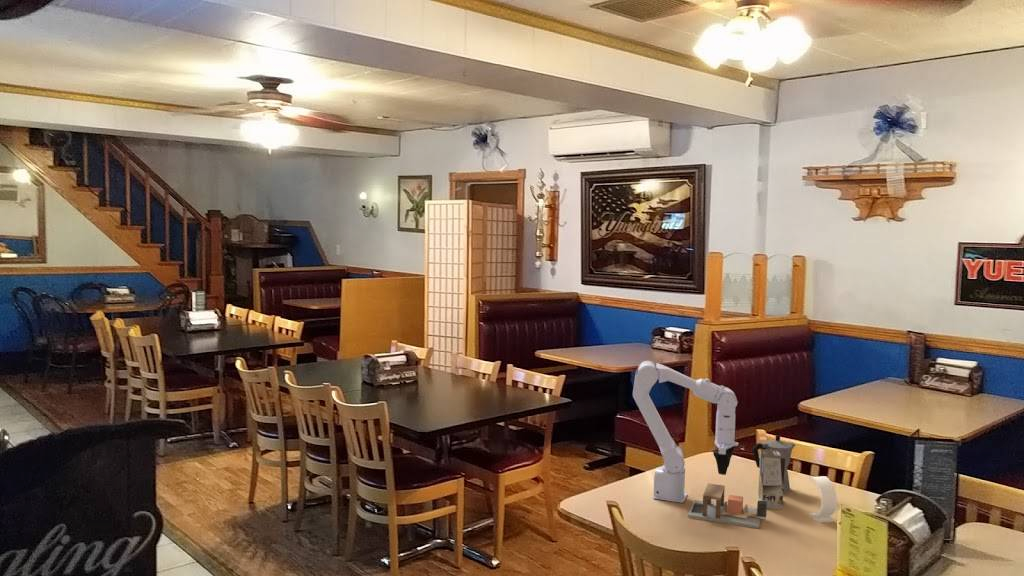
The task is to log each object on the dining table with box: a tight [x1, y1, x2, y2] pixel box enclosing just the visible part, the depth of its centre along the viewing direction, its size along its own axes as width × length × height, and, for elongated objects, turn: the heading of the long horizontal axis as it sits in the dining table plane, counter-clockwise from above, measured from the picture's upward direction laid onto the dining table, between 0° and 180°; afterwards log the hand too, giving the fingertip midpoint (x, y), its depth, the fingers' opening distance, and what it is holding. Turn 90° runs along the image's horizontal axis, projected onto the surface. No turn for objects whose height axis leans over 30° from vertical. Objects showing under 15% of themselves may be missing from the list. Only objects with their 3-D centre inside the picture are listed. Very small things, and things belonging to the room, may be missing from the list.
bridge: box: [702, 483, 726, 518], centre depth 225 cm, size 5×11×6 cm, turn 158°
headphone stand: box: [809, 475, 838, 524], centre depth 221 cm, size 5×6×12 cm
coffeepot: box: [752, 434, 797, 494], centre depth 245 cm, size 15×9×18 cm, turn 103°
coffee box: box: [757, 449, 785, 510], centre depth 233 cm, size 9×6×16 cm
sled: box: [721, 499, 768, 520], centre depth 222 cm, size 12×6×4 cm, turn 68°
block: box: [727, 494, 744, 515], centre depth 222 cm, size 4×4×4 cm
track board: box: [687, 499, 762, 529], centre depth 224 cm, size 20×13×1 cm, turn 68°
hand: (723, 470), depth 234 cm, fingers open, 7 cm apart
